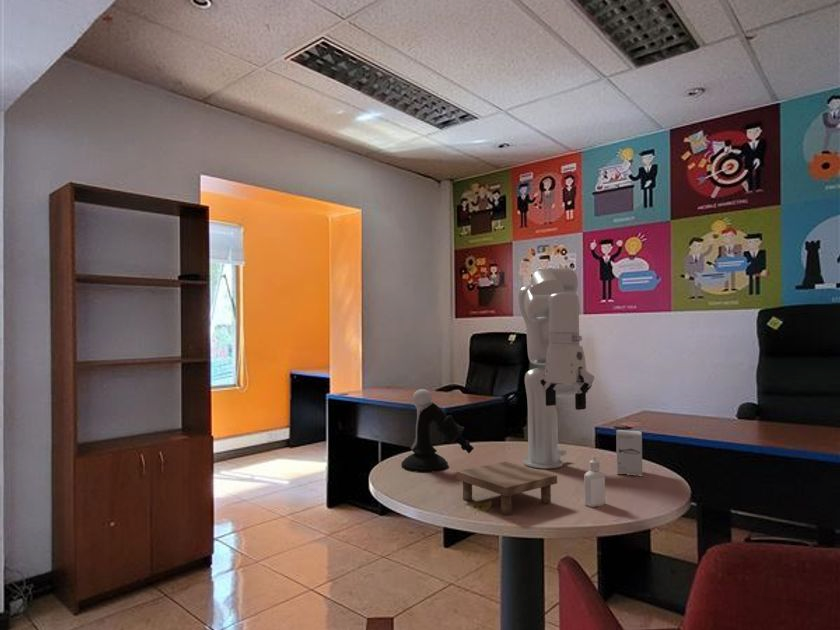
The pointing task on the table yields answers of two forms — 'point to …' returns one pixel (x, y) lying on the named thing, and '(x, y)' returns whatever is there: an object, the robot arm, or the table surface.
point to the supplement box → (629, 452)
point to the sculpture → (424, 450)
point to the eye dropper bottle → (594, 485)
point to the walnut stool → (507, 482)
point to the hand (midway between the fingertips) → (565, 407)
